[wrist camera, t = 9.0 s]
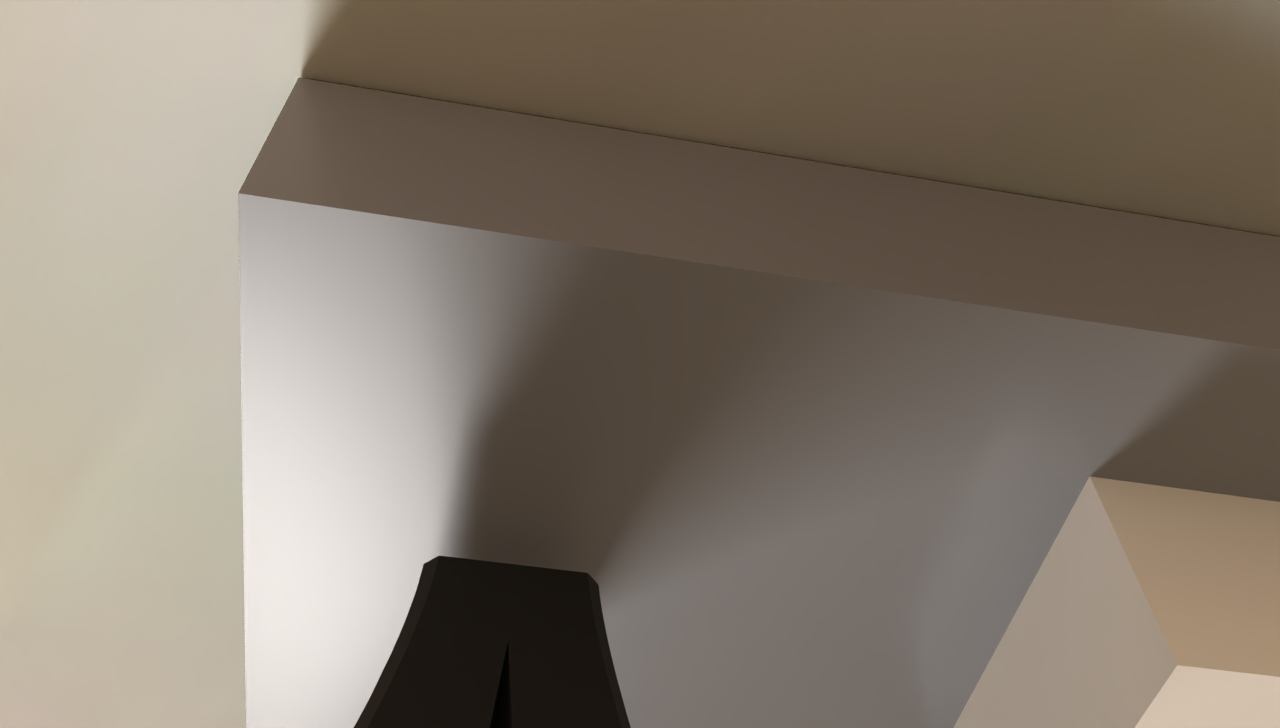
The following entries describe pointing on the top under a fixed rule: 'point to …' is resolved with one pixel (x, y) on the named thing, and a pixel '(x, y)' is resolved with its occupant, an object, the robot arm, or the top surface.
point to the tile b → (1145, 618)
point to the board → (704, 401)
